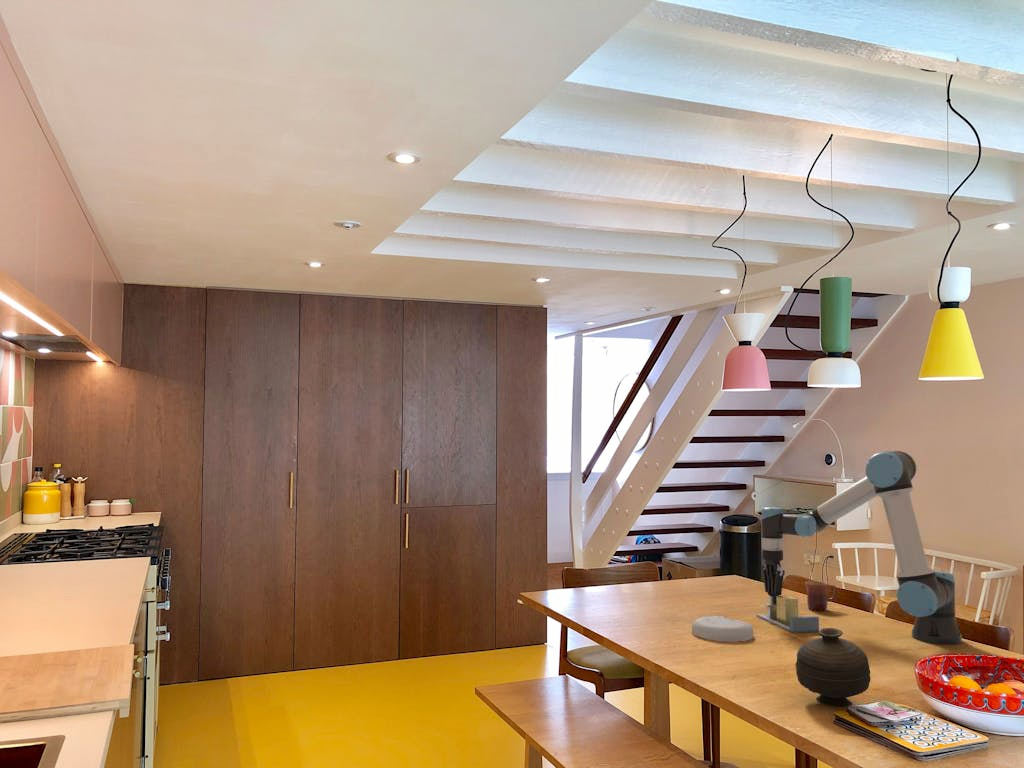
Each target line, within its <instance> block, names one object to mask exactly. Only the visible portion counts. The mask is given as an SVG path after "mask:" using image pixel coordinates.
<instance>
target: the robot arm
mask: <svg viewBox="0 0 1024 768" xmlns="http://www.w3.org/2000/svg"><path fill="white" fill-rule="evenodd" d="M915 461H916V460H914V458H913V457H912V456H911V455H910V454H908V453H906V452H905V451H900V450H897V451H896V450H892V451H891V450H890V451H889V450H887V451H881V452H877V453H875V454H873V455H872V456H871V457H870V458H869V459H868V461H867V462H866V465H865V469H864V470H865V475H866V476H865V477H863V478H862V479H861V480H859V481H857V482H855V483H854V484H852V485H850V486H849V487H847V488H846V489H844V490H842V491H840V492H839V493H838V494H836V495H834V496H833V497H831V498H829V499H828V500H827V501H825V502H823V503H822V504H820V505H818V506H817V507H815V508H813V509H812V510H811V511H809V512H805V513H799V514H791V513H784V512H783V508H781V507H776V506H775V507H774V506H770V507H769V506H766V507H762V509H761V519H760V520H761V548H762V550H761V559H762V560H763V561H764V565H761V571H762V575H763V586H764V592H765V593H767V594H768V604H774V603H777V596H782V593H783V592H782V591H783V582H784V576H785V573H786V572H785V570H782V566H781V561H783V560H784V550H783V548H784V540H783V537H784V535H789V536H797V537H798V536H799V537H803V538H804V537H813V536H814V535H815V533H819V532H821V531H824V530H826V528H827V527H828V526H829V525H832V524H833V523H835V521H838V520H839V519H841V518H842V517H844V516H846V515H848V514H849V513H851V512H853V511H854V510H856V509H858V508H859V507H861V506H863V505H864V504H867V502H869V501H871V500H873V499H875V498H877V497H879V498H880V499H881V500H882V503H883V508H884V512H885V516H886V520H887V523H888V526H889V530H890V536H891V539H892V542H893V546H894V550H895V555H896V560H897V563H898V566H899V572H898V573H897V575H896V579H897V583H898V589H897V592H896V599H897V602H898V605H899V606H900V608H901V610H903V611H904V612H905V613H907V614H909V615H911V616H912V617H915V620H914V623H913V628H912V630H911V638H913V639H914V640H917V641H919V640H920V641H919V642H923V641H924V643H927V642H929V643H928V644H933V643H934V644H935V645H943V646H945V645H946V646H954V645H955V646H957V645H961V644H962V642H963V636H962V633H961V630H960V626H959V625H958V622H957V619H956V589H955V586H956V581H955V576H954V575H953V573H950V572H946V571H945V572H944V571H943V572H942V571H935V570H934V569H933V568H931V567H930V566H929V565H928V561H927V560H928V559H927V557H926V556H927V555H926V552H925V549H924V545H923V542H922V541H923V540H922V537H921V534H920V529H919V525H918V521H917V518H916V514H915V511H914V506H913V503H912V499H911V495H910V494H911V492H912V491H913V489H914V487H913V484H912V480H913V479H914V478H915V476H916V473H917V464H916V462H915Z"/></svg>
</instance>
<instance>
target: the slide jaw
mask: <svg viewBox="0 0 1024 768" xmlns="http://www.w3.org/2000/svg"><path fill="white" fill-rule="evenodd" d="M764 607H766V611H767V612H766V613H767V614H766V615H767V617H768V618H770V619H777V603H774V604H769V603H765V604H764Z"/></svg>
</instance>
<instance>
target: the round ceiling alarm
mask: <svg viewBox="0 0 1024 768" xmlns="http://www.w3.org/2000/svg"><path fill="white" fill-rule="evenodd" d="M691 633H693V634H694V636H696V637H697V636H698V638H700V637H701V638H700V639H703V638H704V639H705V640H709V641H713V640H715V641H714V642H722V641H724V643H739V642H738V641H743V642H748V641H747V640H749V641H751V640H753V639H754V628H753V626H752V625H751V624H749V623H748V622H746V621H743V620H738V619H732V618H726V616H724V615H712V616H711V615H710V616H709V615H708V616H703V617H699V618H696V619H695V620H694V621H693V623H692V625H691ZM693 634H692V635H693ZM752 638H753V639H752ZM750 639H751V640H750Z"/></svg>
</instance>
